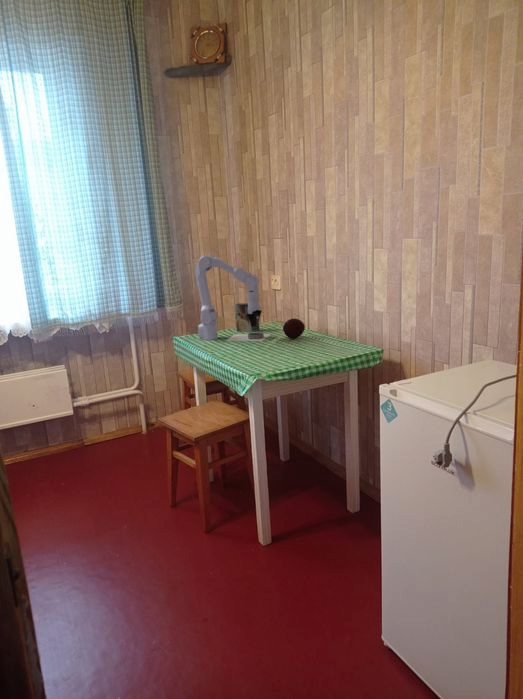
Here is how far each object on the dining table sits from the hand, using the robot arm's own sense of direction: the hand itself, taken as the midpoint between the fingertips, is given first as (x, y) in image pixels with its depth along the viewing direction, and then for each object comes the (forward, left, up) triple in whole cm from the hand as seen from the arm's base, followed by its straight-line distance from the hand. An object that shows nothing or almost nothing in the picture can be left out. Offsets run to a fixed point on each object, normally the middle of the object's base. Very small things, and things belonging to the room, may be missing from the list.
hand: (255, 325), depth 263 cm
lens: (0, 0, -2) cm, 2 cm away
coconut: (+19, +3, -8) cm, 21 cm away
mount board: (-5, +1, -7) cm, 9 cm away
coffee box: (-12, +19, -8) cm, 23 cm away
